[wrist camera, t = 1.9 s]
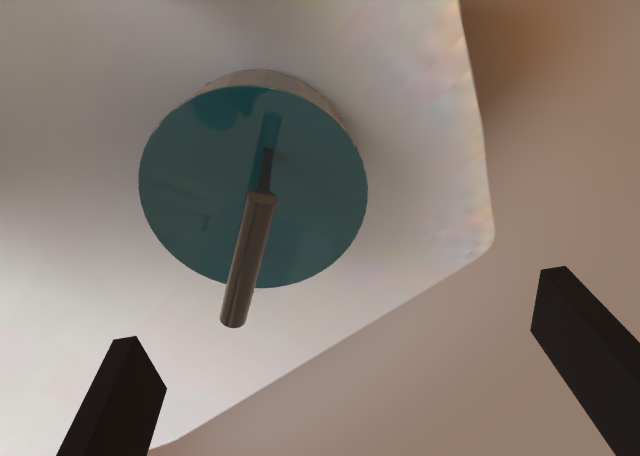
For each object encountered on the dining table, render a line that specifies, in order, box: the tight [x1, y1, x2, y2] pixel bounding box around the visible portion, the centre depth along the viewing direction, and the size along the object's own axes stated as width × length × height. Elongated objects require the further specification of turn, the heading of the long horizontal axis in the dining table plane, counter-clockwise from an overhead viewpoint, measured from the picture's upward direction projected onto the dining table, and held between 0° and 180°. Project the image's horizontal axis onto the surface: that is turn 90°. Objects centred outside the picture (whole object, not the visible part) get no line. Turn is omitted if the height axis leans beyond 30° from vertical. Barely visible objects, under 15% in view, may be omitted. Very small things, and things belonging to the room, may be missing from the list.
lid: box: [139, 83, 368, 328], centre depth 26 cm, size 17×17×10 cm
